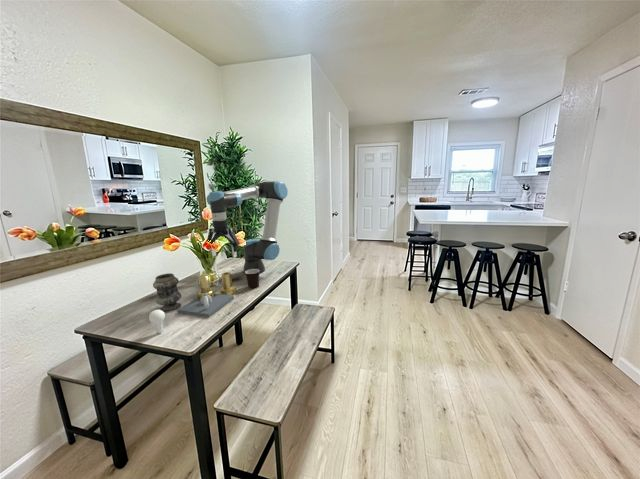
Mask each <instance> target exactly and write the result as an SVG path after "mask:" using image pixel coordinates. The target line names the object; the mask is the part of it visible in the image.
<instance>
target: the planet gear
mask: <svg viewBox="0 0 640 479" xmlns="http://www.w3.org/2000/svg"><path fill="white" fill-rule="evenodd" d="M221 282H222V287H220V289H219V294H222V295H232V296H234V295H235V294H237V286H235V285H233V280H232V273H231V272H230V271H229V272H228V271H227V272H226V271H225V272H222V273H221Z"/></svg>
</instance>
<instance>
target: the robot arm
mask: <svg viewBox="0 0 640 479" xmlns="http://www.w3.org/2000/svg"><path fill="white" fill-rule="evenodd" d="M287 196H288V188H287V185H286V184H285V183H284V182H283V181H279V180H274V181H272V180H271V181H262V182H258V183H253V184H250V186H247V187H243V188H238V189H233V190H227V191H221V190H217V191H210V192H209V193H208V195H207V196H206V203H207V204H208V205H209V206H210V212H211V220H212V227H211V228H208V235H207V238H206V242H207V241H208V240H209V241H210V240H211V242H210V243H211V244H212V243H213V242H214V243H215V242H216V240H217V239H218V237H224V238H225V239H226V240H227V241H228V242H229V243H230V245H231V252H232V253H231V254H232V258H233V259H235V258H236V257H238V255H237V251H238V247H237V246H238V245H240V244H241V243H240V241H239V239H238V237H237V235H236V234H235V232H234V229H233V227H232V228H228V221H227V211H226V210H227V208H232V207H239V206H241V205H242V203H243V201H245V200H249V199H253V200H254V199H265V200H266V202H267V204H266V210H265V212H266V213H265V220H264V225H263V233H262V237H261V238H251V239H248V240H245V241H246V245H244V246H242V249H243V254H244V255H243V256H244V264H243V274H245V271H247V270H250V269H258V270H259V274H262V273H264V272H265V271H266V267H265V264H264V261H263V260H266V261H274V260H276V258H278V256H279V254H280V246H279V245H280V244H278V241H277V238H276V237H277V229H278V222H279V216H280V215H279V214H280V210H281V209H280V208H281V205H282V203H283V202H284V199H286V198H287ZM209 241H208V242H209ZM210 251H211V257H213V258H214V257H217V251H216V250H214V249H213V248H212V246H211V250H210Z"/></svg>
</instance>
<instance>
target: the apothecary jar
mask: <svg viewBox="0 0 640 479" xmlns="http://www.w3.org/2000/svg"><path fill="white" fill-rule="evenodd" d="M154 279H155V280H154V282H153V283H152V286H153V289H155V290H156V294H157V296H156V298H155V302H156V304H158V305H159V306H161V307H160V309H159V310H162V311H163V312H164V313H168V312H173V311H177V310H178V309H179V308H181V307H182V304H181V302H178V301H179V300H181V298H182V293H181V292H180V291H179V289H178V284H179V279H178V277H176V276H175V274H174V273H171V272H168V273H162V274H160V275H156V277H155V278H154Z"/></svg>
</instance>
